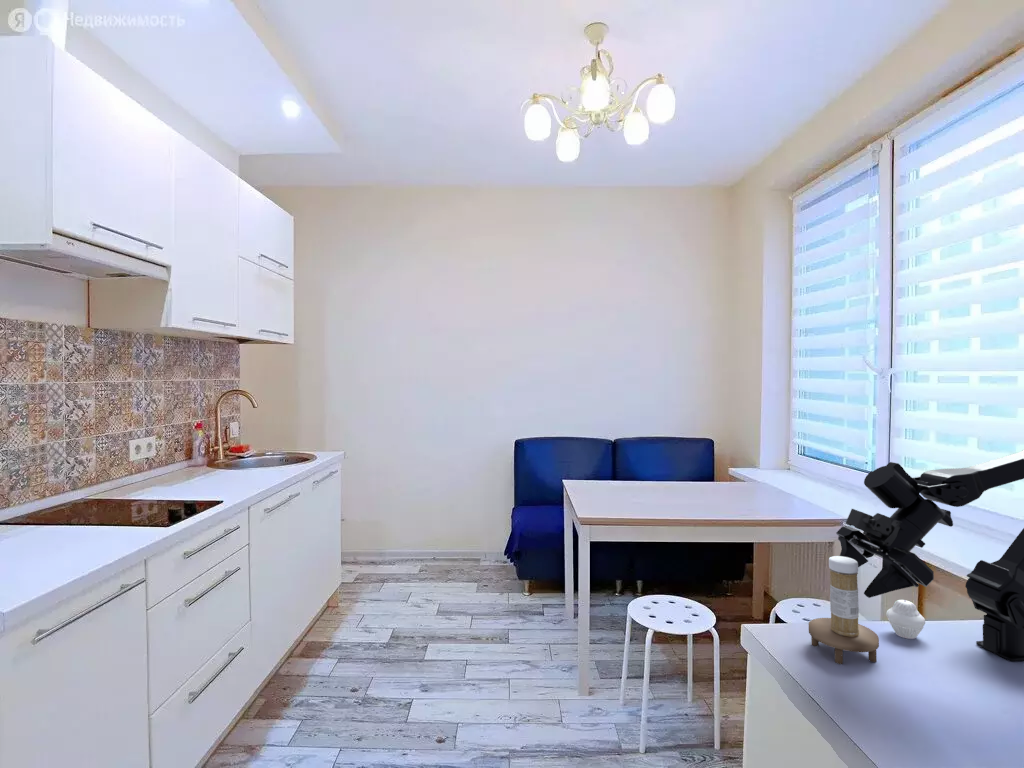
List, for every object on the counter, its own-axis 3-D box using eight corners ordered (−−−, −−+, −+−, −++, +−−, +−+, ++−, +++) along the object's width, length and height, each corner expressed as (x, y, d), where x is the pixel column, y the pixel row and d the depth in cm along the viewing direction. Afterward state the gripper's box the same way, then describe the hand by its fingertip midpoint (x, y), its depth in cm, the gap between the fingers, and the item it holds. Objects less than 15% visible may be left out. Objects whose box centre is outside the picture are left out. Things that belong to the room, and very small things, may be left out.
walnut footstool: (849, 636, 102) (848, 616, 102) (894, 666, 91) (894, 643, 91) (796, 639, 101) (795, 619, 101) (835, 670, 90) (835, 646, 90)
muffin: (919, 646, 98) (918, 609, 98) (881, 634, 103) (880, 598, 103) (930, 636, 102) (929, 600, 102) (893, 625, 107) (892, 591, 107)
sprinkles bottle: (846, 625, 98) (845, 554, 98) (865, 637, 94) (864, 562, 94) (824, 627, 98) (822, 555, 98) (842, 638, 93) (840, 563, 93)
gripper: (844, 485, 106) (791, 540, 106) (914, 506, 87) (849, 573, 87) (884, 524, 105) (831, 579, 105) (963, 552, 87) (898, 619, 87)
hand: (849, 585), depth 96 cm, fingers open, 9 cm apart
